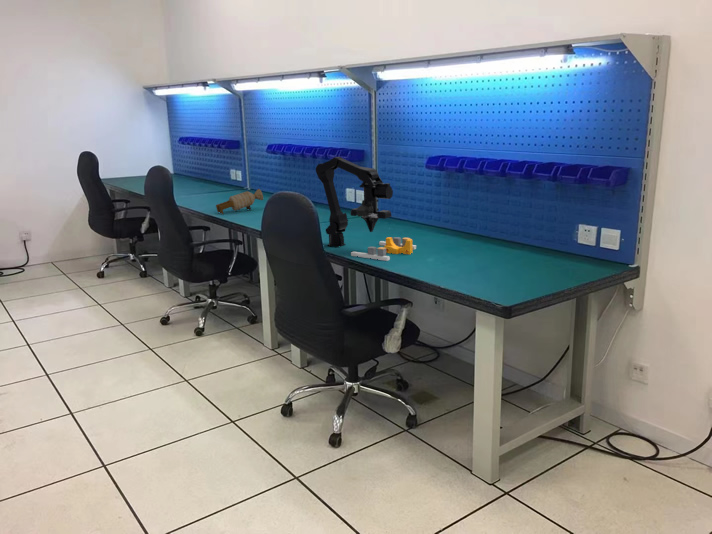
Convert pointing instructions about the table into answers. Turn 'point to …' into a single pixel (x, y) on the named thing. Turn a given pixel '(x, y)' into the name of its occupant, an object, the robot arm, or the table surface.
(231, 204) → the brown toy figure
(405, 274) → the table surface
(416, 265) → the table surface
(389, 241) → the pipe clamp
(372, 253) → the collar track
